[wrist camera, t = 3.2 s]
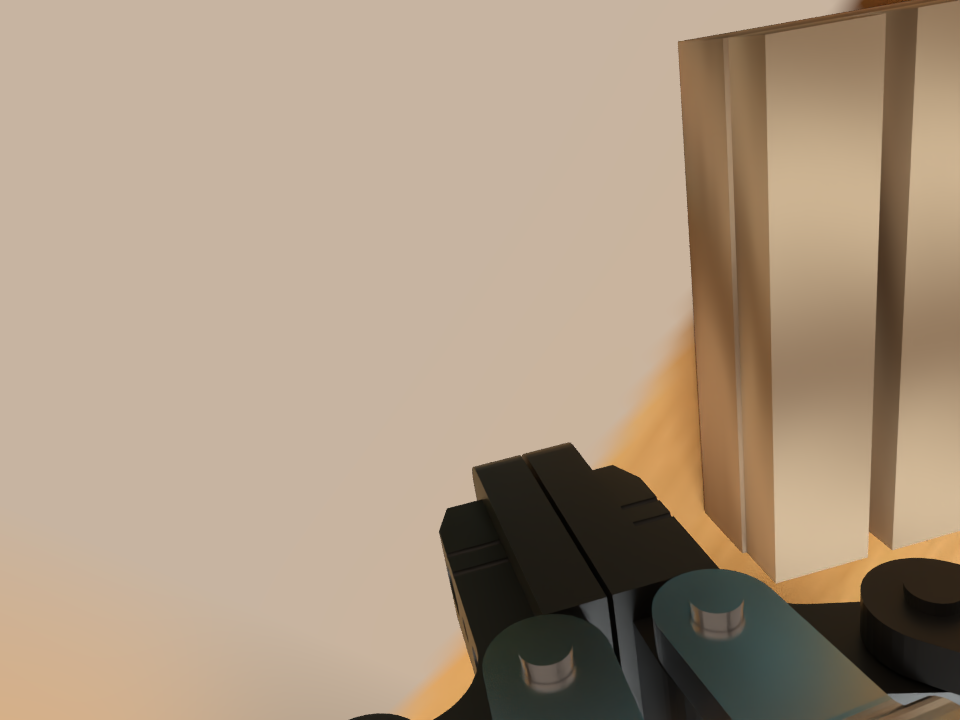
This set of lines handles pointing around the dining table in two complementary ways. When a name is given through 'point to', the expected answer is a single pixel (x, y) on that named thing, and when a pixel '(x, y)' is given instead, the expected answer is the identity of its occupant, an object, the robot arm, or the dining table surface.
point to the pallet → (827, 280)
